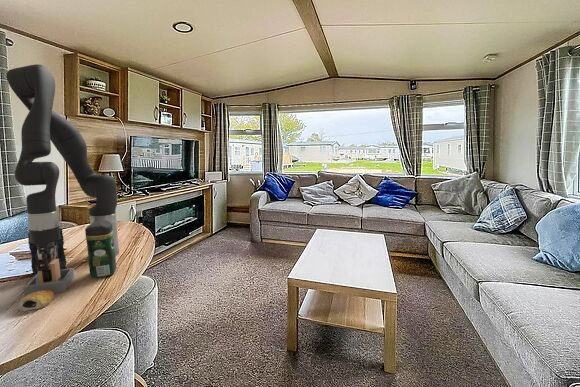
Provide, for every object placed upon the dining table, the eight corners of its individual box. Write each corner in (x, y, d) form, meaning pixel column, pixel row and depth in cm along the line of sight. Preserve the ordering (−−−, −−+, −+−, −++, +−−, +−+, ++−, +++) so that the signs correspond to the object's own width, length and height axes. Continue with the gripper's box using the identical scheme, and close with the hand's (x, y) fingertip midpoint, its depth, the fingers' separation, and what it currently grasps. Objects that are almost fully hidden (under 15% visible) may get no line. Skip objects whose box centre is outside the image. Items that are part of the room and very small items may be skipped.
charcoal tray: (38, 281, 105) (37, 272, 104) (74, 276, 109) (73, 268, 108) (25, 297, 94) (24, 287, 93) (65, 291, 98) (64, 281, 97)
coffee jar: (93, 270, 115) (88, 220, 112) (118, 267, 117) (114, 218, 115) (87, 280, 106) (81, 226, 103) (113, 277, 108) (109, 224, 106)
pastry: (36, 296, 95) (34, 284, 94) (61, 295, 96) (60, 283, 95) (15, 312, 86) (14, 299, 85) (43, 310, 87) (42, 297, 86)
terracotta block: (43, 278, 102) (41, 260, 101) (60, 276, 104) (58, 258, 103) (39, 284, 98) (36, 265, 97) (56, 281, 100) (54, 263, 99)
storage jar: (31, 272, 113) (25, 231, 111) (64, 264, 120) (59, 226, 118) (34, 280, 106) (29, 237, 104) (69, 272, 113) (65, 231, 111)
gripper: (37, 222, 103) (43, 272, 106) (20, 233, 90) (27, 289, 93) (64, 220, 106) (69, 268, 109) (51, 230, 93) (58, 285, 96)
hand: (50, 278), depth 101 cm, fingers closed on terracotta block, 4 cm apart
